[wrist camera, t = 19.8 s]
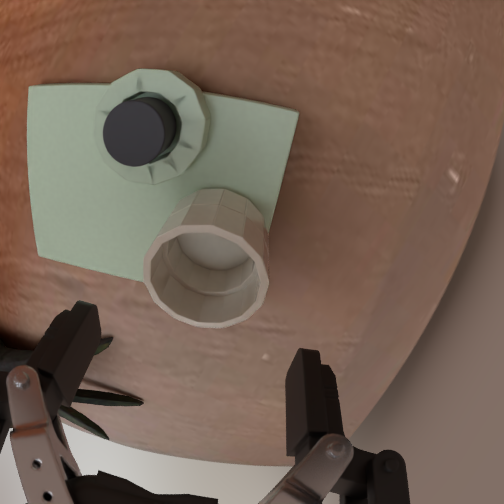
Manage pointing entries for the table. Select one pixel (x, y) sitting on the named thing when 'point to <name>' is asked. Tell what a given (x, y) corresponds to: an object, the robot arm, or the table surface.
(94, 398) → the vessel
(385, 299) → the table surface
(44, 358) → the robot arm
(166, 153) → the green knob plate
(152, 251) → the cup
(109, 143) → the button
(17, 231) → the table surface
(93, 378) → the table surface
